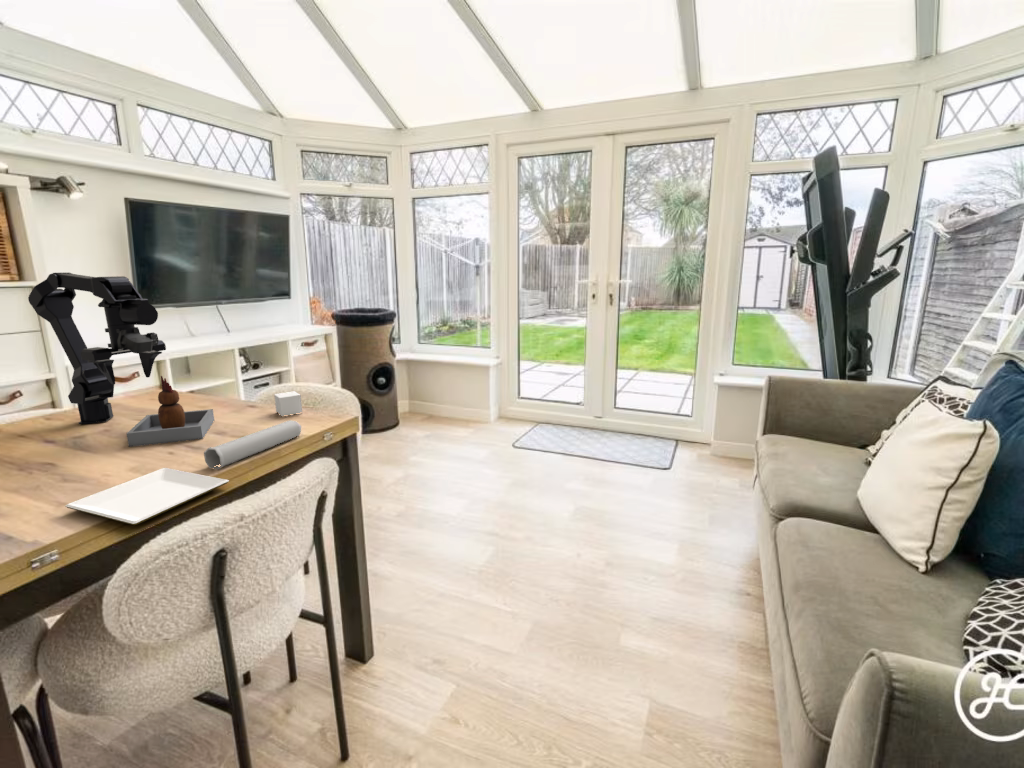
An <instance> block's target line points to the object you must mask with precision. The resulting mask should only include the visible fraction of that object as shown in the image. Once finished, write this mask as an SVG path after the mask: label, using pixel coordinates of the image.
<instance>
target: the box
mask: <svg viewBox="0 0 1024 768" xmlns="http://www.w3.org/2000/svg"><path fill="white" fill-rule="evenodd" d="M184 413H185V426H184V427H177V428H167V429H162V427H161V425H160V422H159V417H158V413H153V414H147V415H145V416H144V417H143V418H141V420H140V421H139V422H137V424H135V425H133V427H132V428H131V429H130V430H128V431H127V432H126V434H125V435H126V439H127V444H128V447H129V448H132V447H140V446H141V445H142V446H150V445H149V444H152V445H158V443H161V444H168V442H170V443H177V442H178V441H180V442H187V441H186V440H189V441H196V440H195V439H198V440H203V439H204V438H205V436H206V435H207V433H208V432H207V431H209V430H210V428H211V427H212V425H213V424H214V422H215V416H214V409H211V408H210V409H209V408H208V409H200V410H199V409H197V410H189V411H188V410H187V411H184ZM213 421H214V422H213ZM212 423H213V424H212ZM210 426H211V427H210ZM208 429H209V430H208ZM205 434H206V435H205ZM203 437H204V438H203Z"/></svg>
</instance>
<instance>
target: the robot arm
mask: <svg viewBox="0 0 1024 768" xmlns="http://www.w3.org/2000/svg"><path fill="white" fill-rule="evenodd" d="M62 288H63V289H62ZM76 290H78V291H82V292H88V293H92V295H93V296H94V297H97V298H98V299H99V298H100V299H102V300H101V301H100V302H99V303H98V304H97V306H98V307H99V308H104V309H103V310H104V315H105V320H106V325H107V327H106V328H104V332H105V333H108V335H109V342H110V343H107V347H99V346H96V347H95V346H94V347H87V345H86V342H85V341H84V339H83V337H82V334H81V333H80V331H79V329H78V327H77V325H76V323H75V320H74V319H73V317H72V315H73V311H74V309H75V305H74V304H73V300H74V299H75V297H76V296H77V294H76ZM27 297H28V298H27V299H28V302H29V304H30V306H31V307H32V308H33V310H34V311H35V313H36V315H37V316H39V317H41V318H42V319H44V320H45V321H47V322H48V323H50V325H51V326H50V327H52V329H53V332H54V333H55V335H56V337H57V339H58V341H59V344H60V345H61V347H62V349H63V351H64V353H65V355H66V357H67V359H68V360H69V363H70V364H71V367H72V368H73V373H72V377H71V383H72V385H73V387H72V388H71V390H70V392H69V394H68V396H67V397H68V400H69V402H70V404H75V405H77V408H78V409H77V410H78V413H79V419H80V421H79V422H78V425H88V424H98V422H100V423H106V421H107V422H108V421H110V420H111V419H113V417H114V412H113V408H112V403H111V402H109V399H110V398H113V397H114V390H115V385H116V378H115V374H114V373H115V372H114V368H113V364H114V361H115V360H114V359H111V358H112V356H115V355H121V354H122V355H123V354H128V353H129V354H130V353H133V354H137V355H139V360H140V363H141V364H140V365H141V367H142V370H143V373H144V376H145V377H146V378H150V377H151V373H152V369H153V366H154V362H155V360H156V358H157V357H158V356H159V355H160V354H162V353H163V351H166V350H167V346H166V343H165V342H164V341H163V340H160V339H159V338H158V337H159V336H158V334H157V333H155V332H146V334H142V333H141V332H140V329H139V327H138V326H152V325H154V324H155V323H156V322H157V320H158V318H159V313H158V310H157V309H156V307H155V306H154V305H152V304H150V303H149V299H148V298H143V297H142V295H141V294H140V293H139V291H138V290H137V288H136V287H135V286H134V284H133V283H132V282H131V281H130V279H129V278H128V277H127V276H125V275H121V276H118V275H116V276H97V277H96V276H90V275H89V276H88V275H83V274H82V275H81V274H75V273H71V272H52V273H50V274H48V276H47V278H46V279H44V280H43V281H41V282H39V283H38V284H36V285H34V287H33V288H32V290H31V292H30V293H29V294H28V296H27ZM135 325H136V326H135Z"/></svg>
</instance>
